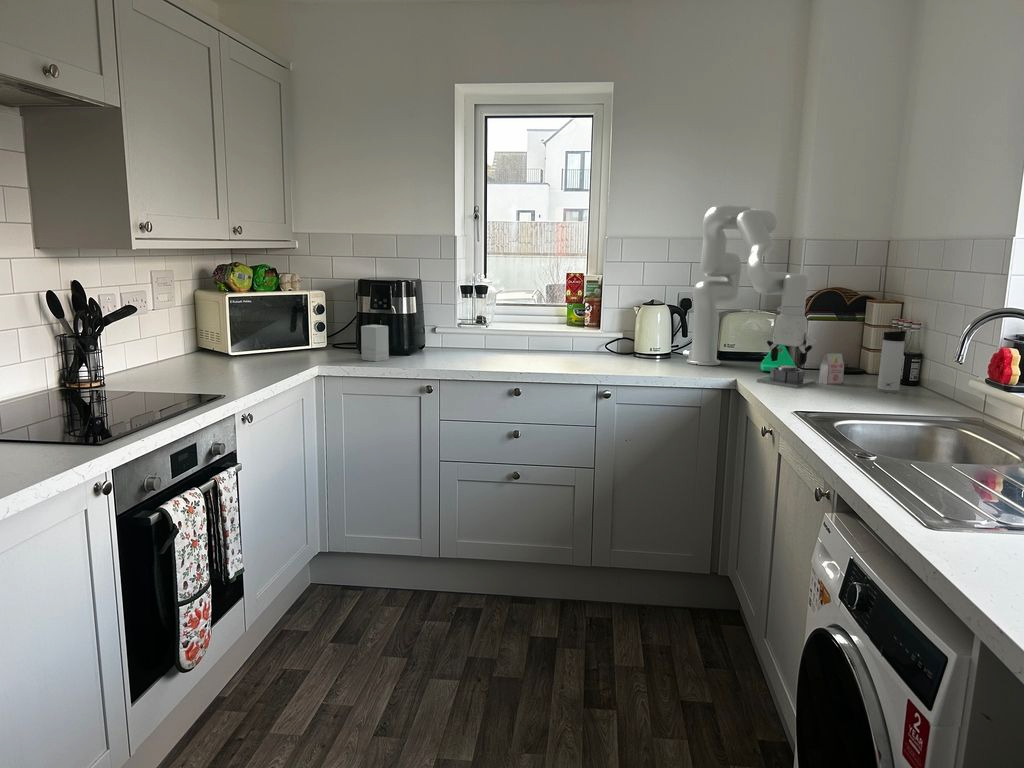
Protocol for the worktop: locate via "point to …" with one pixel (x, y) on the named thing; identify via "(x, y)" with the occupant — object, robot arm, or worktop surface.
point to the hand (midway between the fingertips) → (787, 362)
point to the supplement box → (374, 342)
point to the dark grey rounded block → (787, 368)
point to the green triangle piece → (782, 360)
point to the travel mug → (891, 362)
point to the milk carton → (831, 369)
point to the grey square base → (787, 378)
